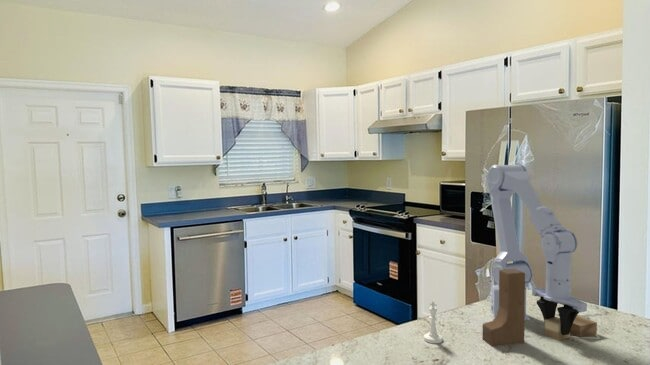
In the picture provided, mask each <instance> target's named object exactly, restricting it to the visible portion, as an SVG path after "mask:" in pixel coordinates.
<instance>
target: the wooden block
mask: <svg viewBox="0 0 650 365" xmlns="http://www.w3.org/2000/svg"><path fill="white" fill-rule="evenodd" d="M493 318H494V317H493ZM525 321H526V320H525V273H524V272H521V271H519V270H516V269H502V270H499V310H498V314H497V316H496V317H495V318H494V319H492V320H491V321H488V322H483V323H482V337H481V338H482V341H483V342H485V343H486V344H488V345H489V346H490V347H500V346H509V345H511V346H512V345H517V344H525Z"/></svg>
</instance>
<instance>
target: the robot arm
mask: <svg viewBox="0 0 650 365" xmlns="http://www.w3.org/2000/svg"><path fill="white" fill-rule="evenodd" d="M530 174H531V173H529V171H528V169H527V167H526V166H525V165H524V164H521V163H519V164H493V165H491V166H490V167H489V169H488V172H487V173H486V176H485V177H486V182H487V187H488V193H489V196H490V197H489V198H490V203H491V209H492V214H493V219H494V220H493V221H494V225H495V231H496V237H497V243H498V249H499V253H498V255H497V256H496V257H495V258H494V259H493V261H492V263H493V270H492V276H493V279H494V281H495V283H496V284H495V285H493V284H492V285H491V288H490V311H491V314H492V315H493V318H495V317H496V316H497V314H498V310H499V270H502V269H516V270H519V271H521V272H524V273H525V321H531V319H530V316H528V314H527V288H528V287H529V285H530V283H532V282H533V279H534V271H533V268H532V266H531V265H530V262H529V258H528V256H527V255H525V254H524V253H522V252H521V250H520V245H519V240H518V235H517V229H516V223H515V219H514V213H513V212H514V211H513V208H512V206H513V205H512V201H511V198H512V196H513V195H514V194H517V196H518V197H519V199H520V200H521V202H523V204H524V205H525V207H526V208H527V209H528V210H529V220H530V222H531V223H532V225H533V226H534V228H535V230H536V231H537V232H538V235H539V236H540V238H541V240H540V246H541V247H540V248H541V249H542V251H543V258H544V260H545V288H540V287H533V288H532V289H531V291H532V292H531V293H532V294H531V295H532V296H533V297H539V299H538V300H536V304H537V306H538V308H539V310H540V311H541V315H542V317H543V320H544V322H545V319H550V318H554V317H556V311H557V312H558V315H559V318H560V324H561V334H562V335H568V334H569V333H570V330H571V327H572V324H573V322H574V320H575V318H576V316H579V313H583V312H587V311H588V310H587V309H588V304H587V303H586V302H584V301H581V300H580V299H578V298H576V297H574V296H572V260H573V259H572V255H573V254H572V253H574V252H576V250H577V248H578V240H577V237H576V235H575V233H574V232H573V231H572V230H569V229H567V228H566V227H564V226H563V225H562V224H561V222H560V220H559V219H558V217H557V216H556V215H555V213H554V210H553V209H552V208H551V207H549V206H546V205H545V206H544V205H543V203H542V202H541V200H540V198H539V196H538V194H537V192H536V190H535V189H534V187H533V185H532V183H531V181H530V179H531V178H530V177H531V175H530ZM510 262H511V263H510ZM558 304H559V305H562V306H559V307H558Z"/></svg>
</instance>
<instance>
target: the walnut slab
mask: <svg viewBox="0 0 650 365" xmlns="http://www.w3.org/2000/svg"><path fill="white" fill-rule="evenodd" d="M597 322H598V321H597ZM597 322H596V321H594V320H592V319H590V318H589V319H588V318H586V317H583V316H580V315H577V316H576V318H575V320H574V322H573V324H572V327H571V330H570V335H571V336H577V337H580V338H581V337H589V336H593V335H594V334H597V333H598V332H597V331H598V323H597ZM597 335H598V334H597ZM594 336H595V335H594ZM580 338H579V339H580ZM581 339H582V338H581Z"/></svg>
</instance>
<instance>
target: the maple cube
mask: <svg viewBox="0 0 650 365" xmlns="http://www.w3.org/2000/svg"><path fill="white" fill-rule="evenodd" d="M544 335H545V336H547V337H550V338H551V339H554V340H556V341H561V340H567V339H569V338H571V337H570V336H571V334H570V333H569V334H568V335H562V334H561V324H560V317H558V316H555V317H554V318H550V319H545V321H544Z"/></svg>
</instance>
